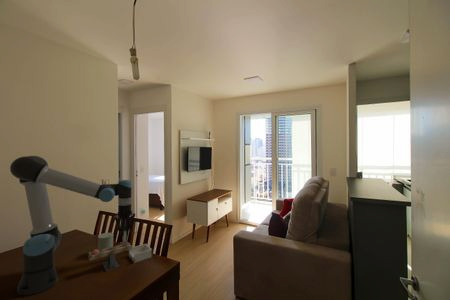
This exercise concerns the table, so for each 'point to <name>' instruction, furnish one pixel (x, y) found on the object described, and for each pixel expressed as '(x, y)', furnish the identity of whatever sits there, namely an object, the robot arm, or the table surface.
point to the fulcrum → (110, 263)
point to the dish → (140, 253)
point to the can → (105, 241)
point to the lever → (111, 250)
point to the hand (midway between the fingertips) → (124, 241)
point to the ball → (95, 252)
